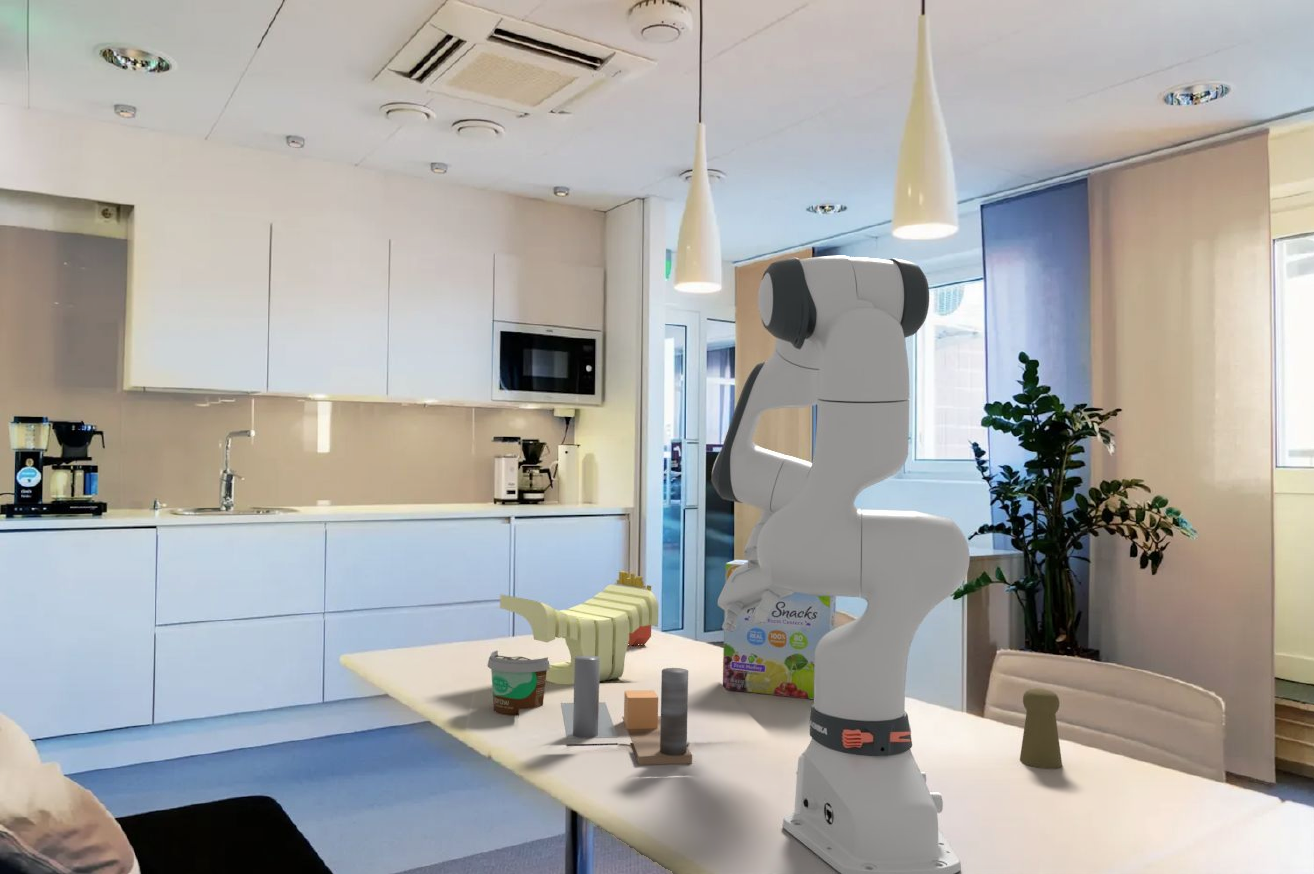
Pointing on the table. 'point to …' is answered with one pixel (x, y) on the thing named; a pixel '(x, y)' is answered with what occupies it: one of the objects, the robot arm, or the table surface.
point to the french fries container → (642, 632)
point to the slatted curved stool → (590, 627)
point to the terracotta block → (641, 709)
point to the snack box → (777, 645)
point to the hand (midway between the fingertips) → (742, 625)
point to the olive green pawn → (1041, 730)
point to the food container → (517, 683)
